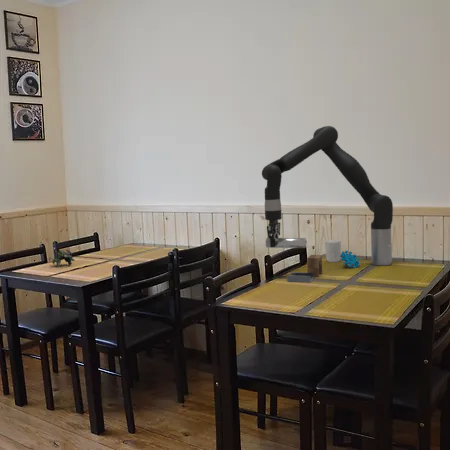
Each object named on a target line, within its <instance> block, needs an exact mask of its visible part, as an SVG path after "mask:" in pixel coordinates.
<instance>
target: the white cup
mask: <svg viewBox="0 0 450 450" xmlns="http://www.w3.org/2000/svg"><path fill="white" fill-rule="evenodd" d="M324 247H325V248H324V249H325V257H326V262H330V263H336V262H340V261H341V254H342V251H341V250H342V241H341V240H339V239H331V240H330V239H329V240H325V241H324Z"/></svg>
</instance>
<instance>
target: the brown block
mask: <svg viewBox="0 0 450 450" xmlns="http://www.w3.org/2000/svg"><path fill="white" fill-rule="evenodd" d="M306 265H307V273H314V278H319V277H320V274H321V275H322V274H323V255H322V254H310V255H309V256H308V257H306Z"/></svg>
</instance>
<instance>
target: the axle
mask: <svg viewBox="0 0 450 450" xmlns="http://www.w3.org/2000/svg"><path fill="white" fill-rule="evenodd" d="M307 244H308V243H307V237H278V238H275V247H270V239H269V238H268V237H266V238H265V248H268V249H269V248H270V249H271V248H273V249H277V248H278V249H279V248H280V249H306V248H307Z"/></svg>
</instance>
